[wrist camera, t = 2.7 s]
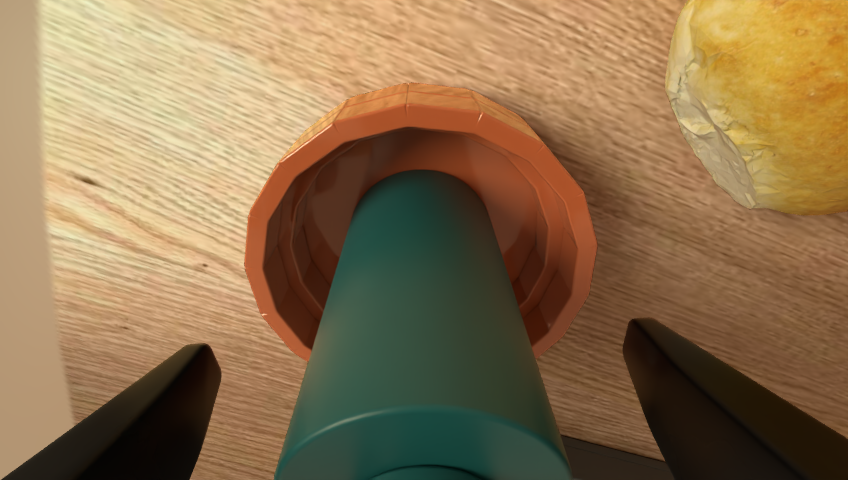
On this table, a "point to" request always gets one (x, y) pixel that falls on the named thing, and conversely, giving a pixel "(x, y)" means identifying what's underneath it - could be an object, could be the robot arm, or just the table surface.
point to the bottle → (422, 351)
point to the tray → (611, 463)
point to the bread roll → (766, 99)
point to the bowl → (419, 150)
